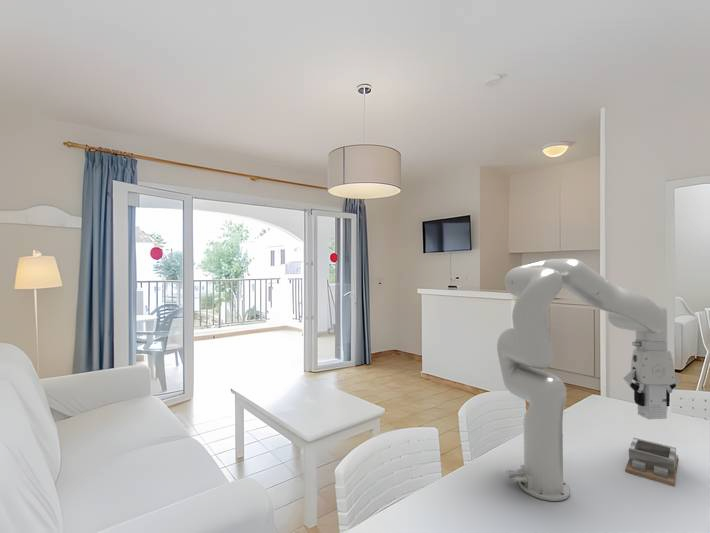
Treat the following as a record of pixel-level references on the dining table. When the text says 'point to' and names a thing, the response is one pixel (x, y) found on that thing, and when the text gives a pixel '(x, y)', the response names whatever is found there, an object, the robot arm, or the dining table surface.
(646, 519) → the dining table surface
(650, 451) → the socket board
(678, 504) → the dining table surface
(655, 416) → the skincare box
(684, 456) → the dining table surface
